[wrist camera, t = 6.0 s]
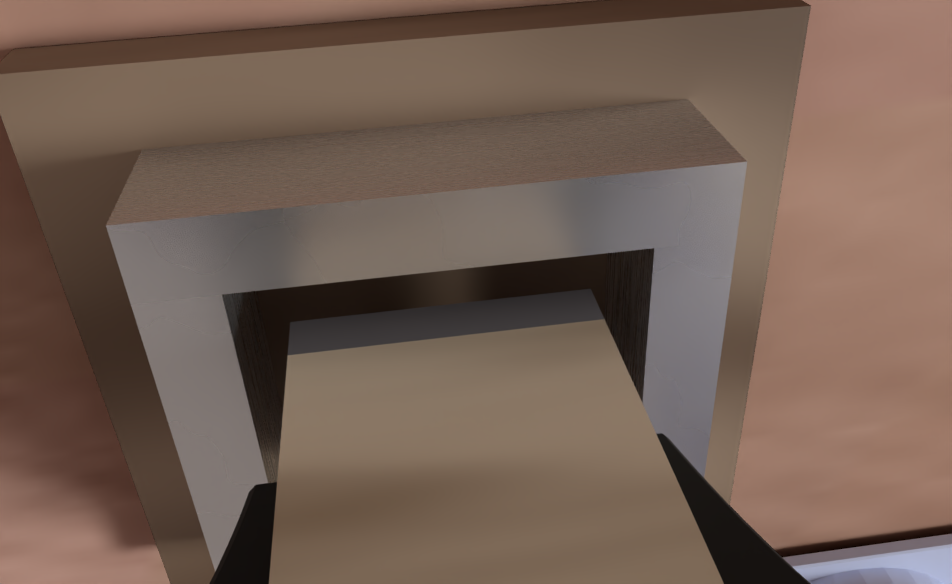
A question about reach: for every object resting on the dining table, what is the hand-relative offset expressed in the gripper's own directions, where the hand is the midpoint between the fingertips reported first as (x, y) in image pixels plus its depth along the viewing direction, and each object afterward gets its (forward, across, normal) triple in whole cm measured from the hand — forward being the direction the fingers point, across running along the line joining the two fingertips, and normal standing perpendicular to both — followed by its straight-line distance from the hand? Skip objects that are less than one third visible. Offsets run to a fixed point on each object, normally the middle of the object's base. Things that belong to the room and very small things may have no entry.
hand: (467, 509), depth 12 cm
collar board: (+5, 0, 0) cm, 5 cm away
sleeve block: (+2, 0, 0) cm, 2 cm away
